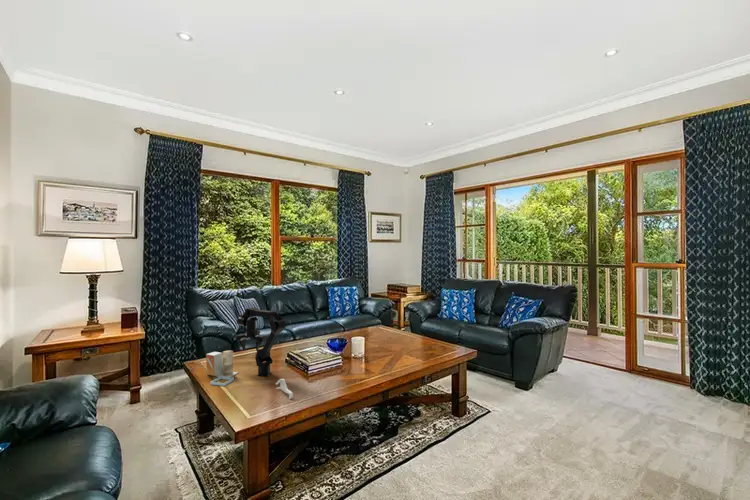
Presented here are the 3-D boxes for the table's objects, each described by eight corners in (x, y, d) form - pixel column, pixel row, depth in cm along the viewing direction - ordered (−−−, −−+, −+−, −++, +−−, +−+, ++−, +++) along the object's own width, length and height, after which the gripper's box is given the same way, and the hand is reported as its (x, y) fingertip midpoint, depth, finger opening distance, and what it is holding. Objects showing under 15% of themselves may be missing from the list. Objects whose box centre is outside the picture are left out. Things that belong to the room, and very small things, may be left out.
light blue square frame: (234, 380, 215) (234, 377, 215) (224, 386, 206) (224, 383, 206) (220, 378, 217) (220, 376, 217) (210, 384, 207) (210, 382, 207)
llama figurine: (277, 401, 201) (290, 399, 188) (274, 380, 204) (287, 377, 191) (280, 400, 202) (294, 398, 189) (277, 379, 205) (290, 376, 192)
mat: (238, 373, 226) (238, 372, 226) (229, 378, 218) (229, 377, 218) (225, 371, 228) (225, 371, 228) (216, 377, 219) (216, 376, 219)
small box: (206, 374, 223) (205, 354, 223) (215, 371, 228) (214, 351, 228) (214, 376, 219) (213, 355, 219) (224, 373, 224) (222, 352, 224)
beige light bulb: (234, 373, 223) (234, 351, 223) (225, 376, 219) (225, 354, 218) (229, 371, 227) (230, 349, 227) (220, 374, 222) (221, 352, 222)
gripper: (270, 325, 237) (269, 348, 237) (244, 323, 240) (244, 346, 240) (261, 329, 226) (261, 353, 226) (235, 327, 229) (235, 351, 229)
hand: (250, 350), depth 231 cm, fingers open, 9 cm apart
